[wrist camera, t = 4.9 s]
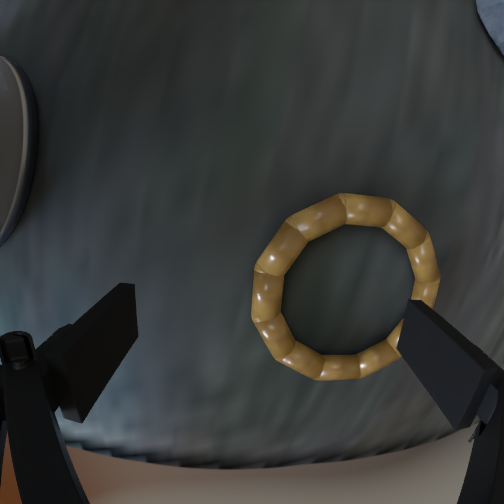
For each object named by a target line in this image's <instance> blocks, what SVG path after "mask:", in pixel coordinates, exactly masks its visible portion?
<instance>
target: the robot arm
mask: <svg viewBox="0 0 504 504" xmlns="http://www.w3.org/2000/svg"><path fill="white" fill-rule="evenodd" d="M37 139H38V121H37V110H36V103H35V98H34V94H33V90H32V87H31V84H30V82H29V80H28V78H27V76H26V74H25V73H24V71H23V70H22V69H21V67H20V66H19V65H18V64H17V63H15V62H14V61H12V60H10V59H8V58H6V57H3V56H0V246H1V245H2V244H3V243H4V242H5V241H6V240H7V238H8V237H9V236H10V234H11V233H12V231H13V230H14V228H15V226H16V224H17V223H18V221H19V219H20V216H21V214H22V212H23V209H24V207H25V204H26V201H27V198H28V195H29V191H30V187H31V183H32V179H33V174H34V169H35V162H36V153H37ZM137 338H138V326H137V314H136V299H135V284H128V283H119V284H118V285H117V286H116V287H114V288H113V289H112V290H111V291H110V292H109V293H108V294H106V295H105V296H104V297H103V298H102V299H101V300H100V301H98V302H97V303H96V304H95V305H94V306H93V307H92V308H90V309H89V310H88V311H87V312H86V313H85V314H84V315H83V316H82V317H80V318H79V319H78V320H77V321H76V322H75V323H74V324H68V325H66V326H63V327H61V328H59V329H58V330H57V331H56V332H55V333H53V334H52V336H50V337H49V338H48V339H47V341H44V342H43V343H42V344H41V345H40V346H39V347H38V348H37V349H36V350H35V348H34V344H33V339H32V337H31V335H30V334H29V333H27V332H23V331H13V332H9V333H6V334H4V335H2V336H1V337H0V358H1V362H2V365H0V485H1V474H2V464H3V456H4V448H5V441H6V435H7V430H8V437H9V444H10V450H11V456H12V462H13V467H14V471H15V476H16V481H17V485H18V489H19V493H20V497H21V501H22V504H90V503H89V501H88V499H87V496H86V494H85V492H84V490H83V488H82V485H81V483H80V481H79V478H78V476H77V474H76V471H75V469H74V467H73V464H72V461H71V459H70V456H69V453H68V451H67V448H66V445H65V442H64V440H63V437H62V434H61V431H60V428H59V425H58V421H57V418H56V416H55V413H54V412H55V411H56V410H57V408H58V407H59V406H60V409H61V412H62V414H63V417H64V418H65V419H68V420H72V421H75V422H79V423H83V421H84V420H85V418H86V417H87V415H88V413H89V412H90V410H91V409H92V407H93V405H94V404H95V402H96V401H97V399H98V397H99V396H100V394H101V393H102V391H103V390H104V388H105V386H106V385H107V383H108V382H109V380H110V379H111V377H112V376H113V374H114V372H115V371H116V369H117V368H118V366H119V365H120V363H121V362H122V360H123V359H124V357H125V356H126V354H127V353H128V351H129V350H130V348H131V347H132V345H133V344H134V342H135V341H136V339H137ZM396 349H397V350H398V351H399V353H400V354H401V355H402V357H403V358H404V359H405V361H406V362H407V363H408V365H409V366H410V368H411V369H412V370H413V372H414V373H415V374H416V376H417V377H418V378H419V380H420V381H421V383H422V384H423V385H424V387H425V388H426V389H427V391H428V392H429V394H430V395H431V396H432V398H433V399H434V401H435V402H436V403H437V405H438V406H439V408H440V409H441V411H442V412H443V413H444V415H445V416H446V418H447V419H448V421H449V422H450V424H451V425H452V426H453V428H454V429H455V430H459V429H463V428H467V427H470V425H471V423H472V422H473V420H474V418H475V416H476V414H477V415H478V417H479V418H480V419H481V420H480V422H479V424H478V426H477V427H476V429H475V431H474V433H473V434H472V436H471V438H470V440H469V442H471V441H472V439H474V443H473V448H472V452H471V456H470V461H469V465H468V469H467V472H466V476H465V479H464V483H463V486H462V489H461V493H460V496H459V499H458V502H457V504H504V370H503V369H502V368H501V367H499V366H498V365H497V364H496V363H495V362H494V361H493V360H492V359H491V358H488V356H487V355H486V354H485V353H483V351H482V350H481V349H480V348H478V347H477V346H476V345H474V344H472V343H471V342H470V341H469V340H468V339H467V338H466V337H464V336H463V335H462V334H461V333H460V332H459V331H458V330H456V329H455V328H454V327H453V326H452V325H451V324H449V323H448V322H447V321H446V320H445V319H444V318H442V317H441V316H440V315H439V314H438V313H436V312H435V311H434V310H433V309H432V308H430V307H429V306H428V305H427V304H426V303H424V302H423V301H422V300H409V299H408V303H407V308H406V312H405V316H404V320H403V324H402V328H401V332H400V336H399V340H398V344H397V347H396Z"/></svg>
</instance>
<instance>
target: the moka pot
mask: <svg viewBox="0 0 504 504" xmlns="http://www.w3.org/2000/svg"><path fill="white" fill-rule="evenodd" d="M476 5H477V11H478V14H479V15H480V18H481V20H482V22H483V24H484V26H485V28H486V30H487V31H488V33H489V35H490V36H491V38H492V39H493V40H494V42H495V43H496V45H497V47H498V48H499V50H500V51H501V53H502V54H503V55H504V0H476Z"/></svg>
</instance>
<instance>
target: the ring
mask: <svg viewBox="0 0 504 504" xmlns="http://www.w3.org/2000/svg"><path fill="white" fill-rule="evenodd" d="M344 224H351V225H362V226H373V227H381V228H383V229H384V230H385V231H386V232H388V233H389V234H390V235H391V236H392V237H394V238H395V239H396V240H397V241H398V242H400V243H401V244H402V245H403V246H404V247H406V250H407V253H408V256H409V259H410V263H411V266H412V269H413V273H414V276H415V282H414V286H413V291H412V296H411V300H422V301H423V302H424V303H426V304H427V305H428V306H429V307H430V308H432V309H433V308H434V304H435V300H436V296H437V292H438V287H439V283H440V272H439V268H438V264H437V260H436V256H435V252H434V249H433V245H432V242H431V238H430V235H429V232H428V231H427V230H426V229H425V228H424V227H423V226H422V225H421V224H420V223H419V222H418V221H417V220H416V219H414V218H413V217H412V216H411V215H410V214H409V213H408V212H407V211H405V210H404V209H403V208H402V207H401V206H400V205H399V204H397V203H396V202H395V201H394V200H392V199H389V198H382V197H374V196H366V195H357V194H349V193H338V194H335V195H333V196H331V197H329V198H326V199H324V200H322V201H320V202H318V203H316V204H314V205H312V206H310V207H307V208H305V209H303V210H301V211H299V212H297V213H295V214H293V215H291V216H289V217H288V218H287V219H286V220H285V221H284V223H283V224H282V226H281V227H280V229H279V230H278V231H277V233H276V234H275V236H274V237H273V239H272V240H271V242H270V243H269V244H268V246H267V247H266V249H265V250H264V252H263V253H262V254H261V256H260V257H259V259H258V260H257V262H256V264H255V267H254V280H253V294H252V308H251V317H252V320H253V322H254V324H255V326H256V328H257V329H258V331H259V333H260V335H261V336H262V338H263V340H264V342H265V344H266V345H267V347H268V349H269V351H270V352H271V354H272V356H273V357H274V359H275V360H277V361H278V362H280V363H282V364H284V365H286V366H288V367H290V368H292V369H294V370H296V371H297V372H299V373H301V374H303V375H305V376H307V377H309V378H311V379H313V380H352V379H361V378H363V377H365V376H367V375H369V374H371V373H373V372H375V371H377V370H379V369H381V368H383V367H385V366H387V365H389V364H391V363H393V362H395V361H397V360H398V359H400V358H401V357H402V355H401V354H400V353H399V351H398V350H397V349H396V347H397V344H398V340H399V336H400V332H401V328H402V324H403V320H404V317H403V318H402V320H401V321H400V322H399V323H398V325H397V326H396V327H395V328H394V330H393V331H392V332H391V333H390V335H389V336H388V337H387V338H386V339H385V340H383V341H381V342H379V343H377V344H375V345H373V346H371V347H369V348H367V349H365V350H363V351H361V352H359V353H357V354H355V355H321V354H320V353H318V352H316V351H314V350H312V349H311V348H309V347H307V346H305V345H304V344H302V343H300V342H298V341H297V340H295V338H294V337H293V335H292V333H291V331H290V329H289V327H288V325H287V323H286V321H285V319H284V317H283V315H282V313H281V303H282V293H283V284H284V275H285V274H286V272H287V271H288V269H289V268H290V267H291V265H292V264H293V263H294V261H295V260H296V258H297V257H298V256H299V254H300V253H301V251H302V250H303V249H304V247H305V246H306V244H307V243H308V242H309V241H311V240H313V239H315V238H317V237H319V236H321V235H323V234H326V233H328V232H330V231H332V230H334V229H336V228H338V227H340V226H342V225H344Z"/></svg>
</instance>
